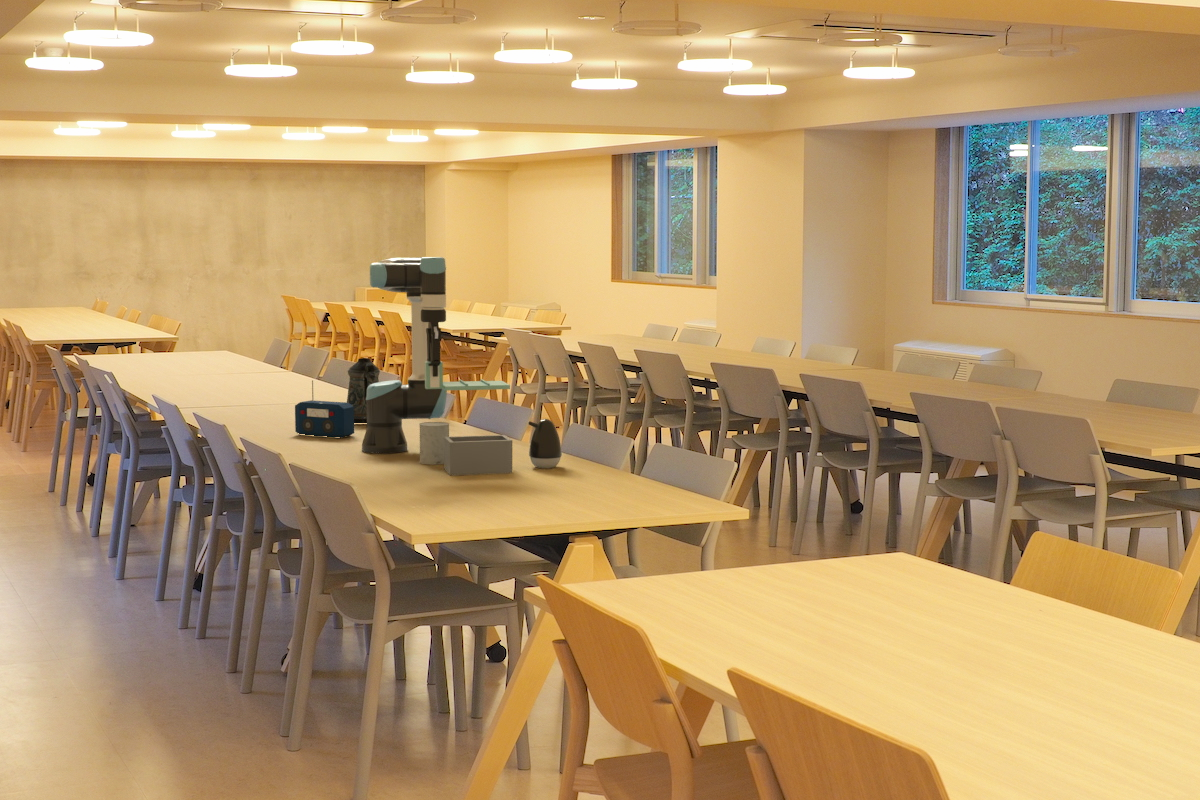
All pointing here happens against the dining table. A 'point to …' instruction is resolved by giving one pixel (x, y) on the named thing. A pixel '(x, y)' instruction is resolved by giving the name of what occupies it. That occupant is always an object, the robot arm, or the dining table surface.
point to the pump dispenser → (545, 445)
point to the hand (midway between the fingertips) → (433, 386)
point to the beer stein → (361, 387)
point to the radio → (324, 418)
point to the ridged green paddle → (462, 382)
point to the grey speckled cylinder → (433, 442)
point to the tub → (477, 455)
